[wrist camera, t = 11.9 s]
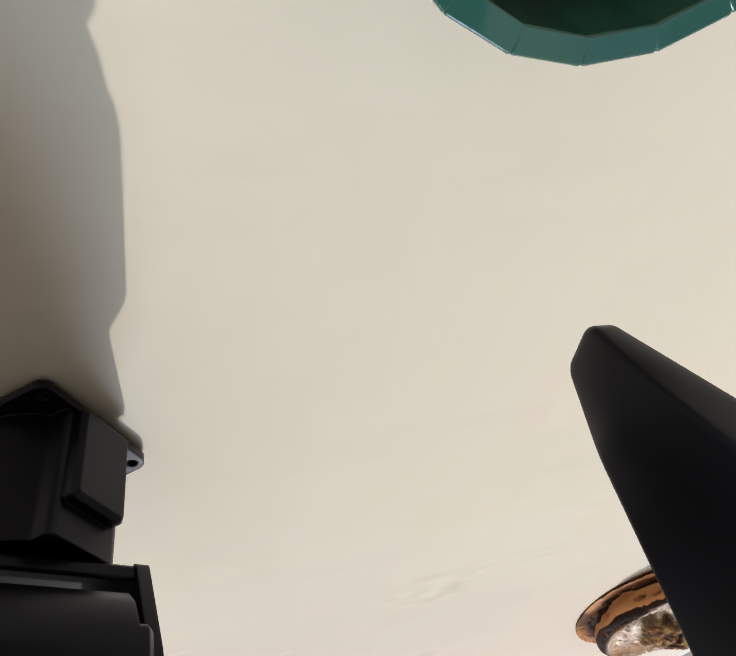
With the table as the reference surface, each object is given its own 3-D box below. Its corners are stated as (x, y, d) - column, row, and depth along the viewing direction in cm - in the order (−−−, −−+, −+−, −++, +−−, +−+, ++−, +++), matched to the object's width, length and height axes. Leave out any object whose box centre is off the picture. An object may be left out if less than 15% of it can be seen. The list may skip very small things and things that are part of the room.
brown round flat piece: (549, 650, 60) (569, 698, 57) (627, 565, 51) (656, 617, 48) (675, 631, 64) (699, 675, 61) (767, 551, 55) (801, 597, 52)
